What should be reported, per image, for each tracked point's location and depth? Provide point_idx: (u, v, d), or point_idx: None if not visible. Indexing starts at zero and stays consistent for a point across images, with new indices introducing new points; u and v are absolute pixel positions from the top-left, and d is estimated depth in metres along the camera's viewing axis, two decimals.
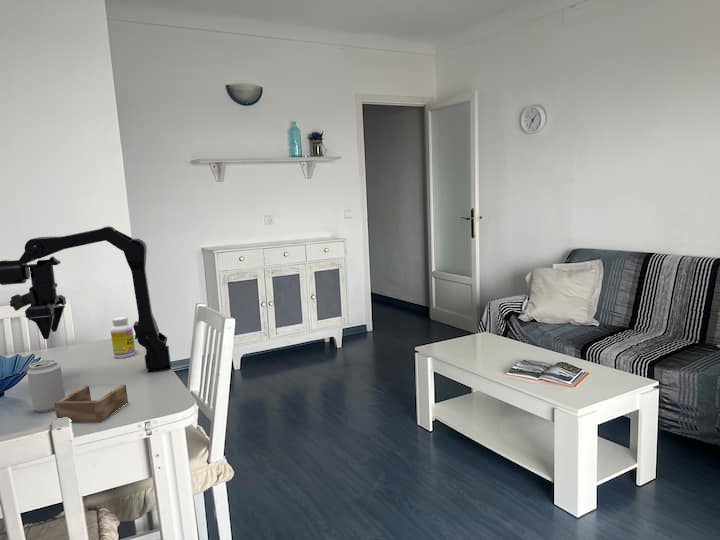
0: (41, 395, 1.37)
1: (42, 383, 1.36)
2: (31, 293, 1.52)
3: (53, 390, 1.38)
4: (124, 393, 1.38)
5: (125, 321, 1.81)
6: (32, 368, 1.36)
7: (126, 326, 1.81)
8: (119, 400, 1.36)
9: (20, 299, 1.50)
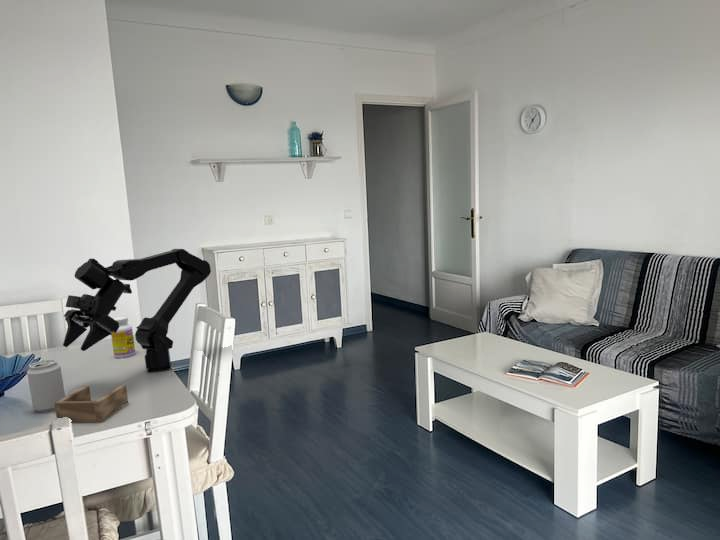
0: (41, 395, 1.37)
1: (42, 383, 1.36)
2: (97, 302, 1.48)
3: (53, 390, 1.38)
4: (124, 393, 1.38)
5: (125, 321, 1.81)
6: (32, 368, 1.36)
7: (126, 326, 1.81)
8: (119, 400, 1.36)
9: (91, 301, 1.45)
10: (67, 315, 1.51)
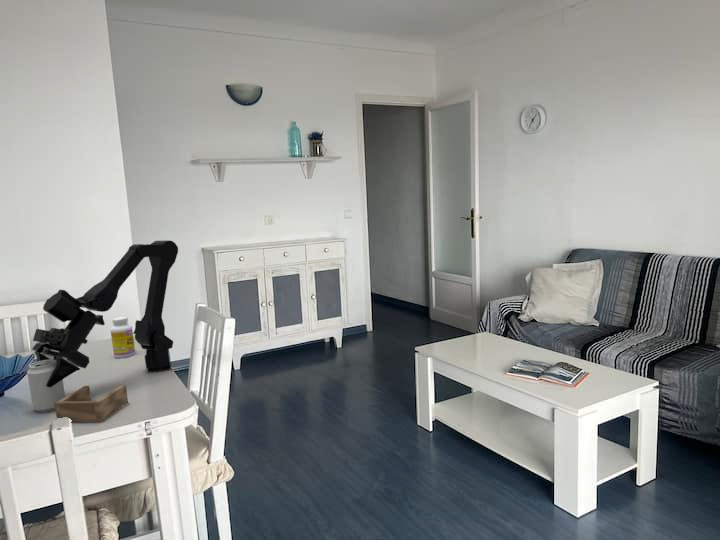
0: (41, 395, 1.37)
1: (42, 383, 1.36)
2: (67, 335, 1.41)
3: (53, 390, 1.38)
4: (124, 393, 1.38)
5: (125, 321, 1.81)
6: (32, 368, 1.36)
7: (126, 326, 1.81)
8: (119, 400, 1.36)
9: (60, 335, 1.38)
10: (35, 348, 1.44)
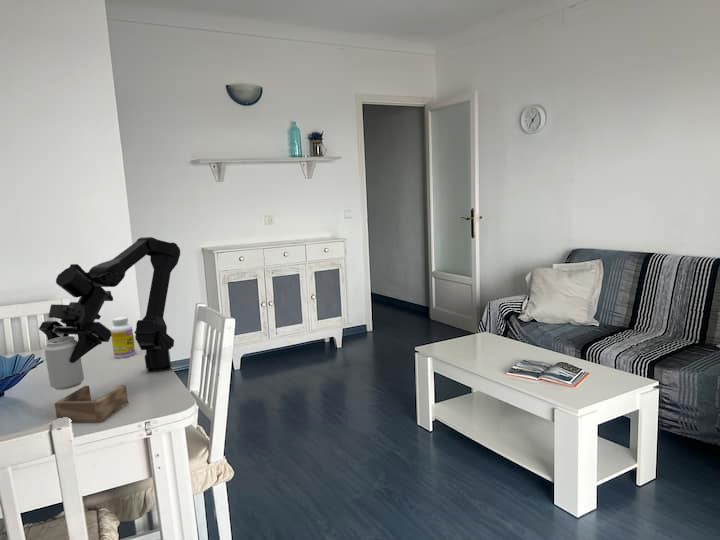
0: (64, 371, 1.32)
1: (65, 359, 1.32)
2: (83, 310, 1.38)
3: (75, 366, 1.34)
4: (124, 393, 1.38)
5: (125, 321, 1.81)
6: (52, 344, 1.32)
7: (126, 326, 1.81)
8: (119, 400, 1.36)
9: (80, 309, 1.35)
10: (44, 327, 1.38)
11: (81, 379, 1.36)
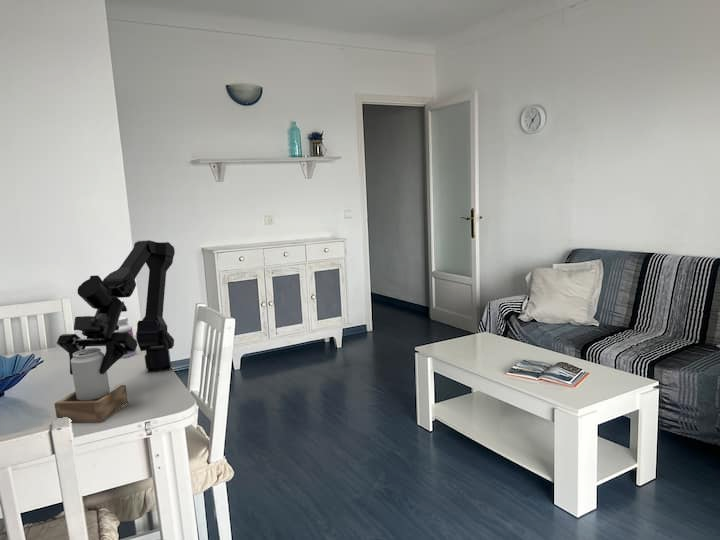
0: (94, 383, 1.32)
1: (95, 370, 1.32)
2: (106, 321, 1.38)
3: (104, 377, 1.34)
4: (124, 393, 1.38)
5: (125, 321, 1.81)
6: (82, 357, 1.31)
7: (126, 326, 1.81)
8: (119, 400, 1.36)
9: (106, 320, 1.35)
10: (63, 340, 1.36)
11: (108, 390, 1.36)
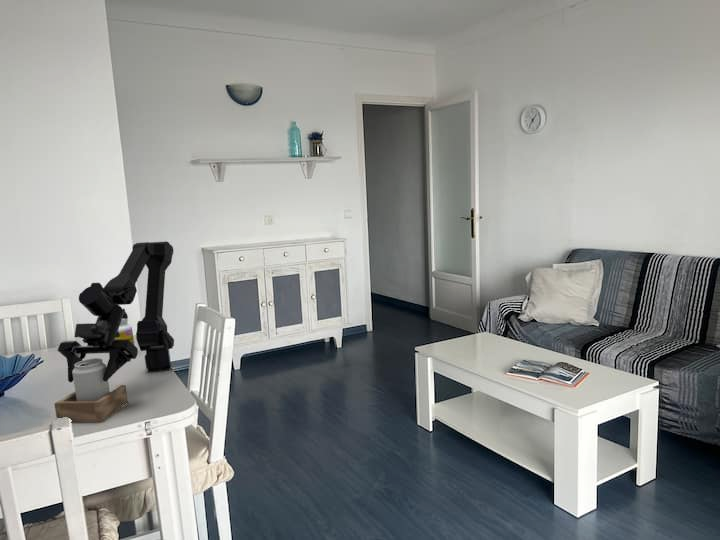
0: (96, 393, 1.32)
1: (97, 381, 1.32)
2: (107, 329, 1.38)
3: (105, 388, 1.34)
4: (124, 393, 1.38)
5: (125, 321, 1.81)
6: (83, 367, 1.31)
7: (126, 326, 1.81)
8: (119, 400, 1.36)
9: (107, 328, 1.35)
10: (64, 347, 1.36)
11: None
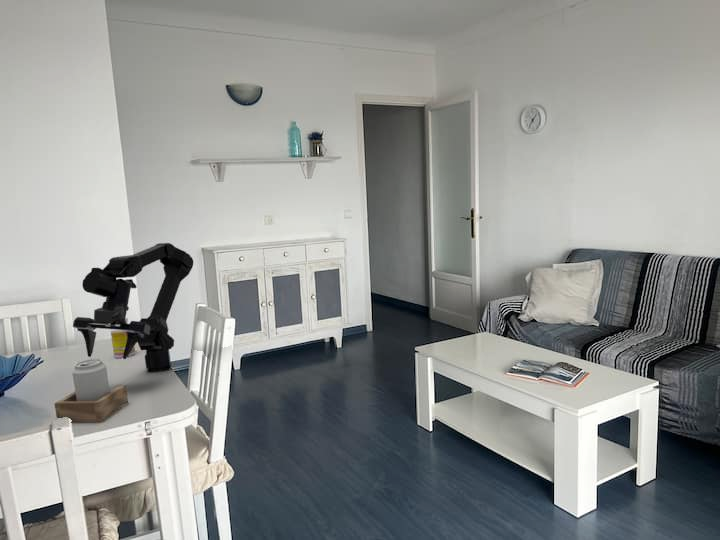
0: (96, 393, 1.32)
1: (97, 381, 1.32)
2: None
3: (105, 388, 1.34)
4: (124, 393, 1.38)
5: None
6: (83, 367, 1.31)
7: None
8: (119, 400, 1.36)
9: (124, 312, 1.45)
10: (80, 325, 1.45)
11: None
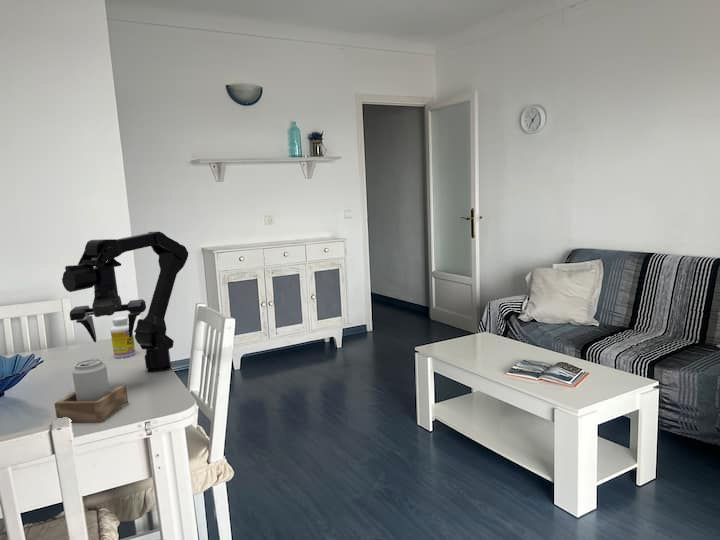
0: (96, 393, 1.32)
1: (97, 381, 1.32)
2: (114, 294, 1.49)
3: (105, 388, 1.34)
4: (124, 393, 1.38)
5: (125, 321, 1.81)
6: (83, 367, 1.31)
7: (126, 326, 1.81)
8: (119, 400, 1.36)
9: (120, 299, 1.48)
10: (78, 318, 1.47)
11: None
